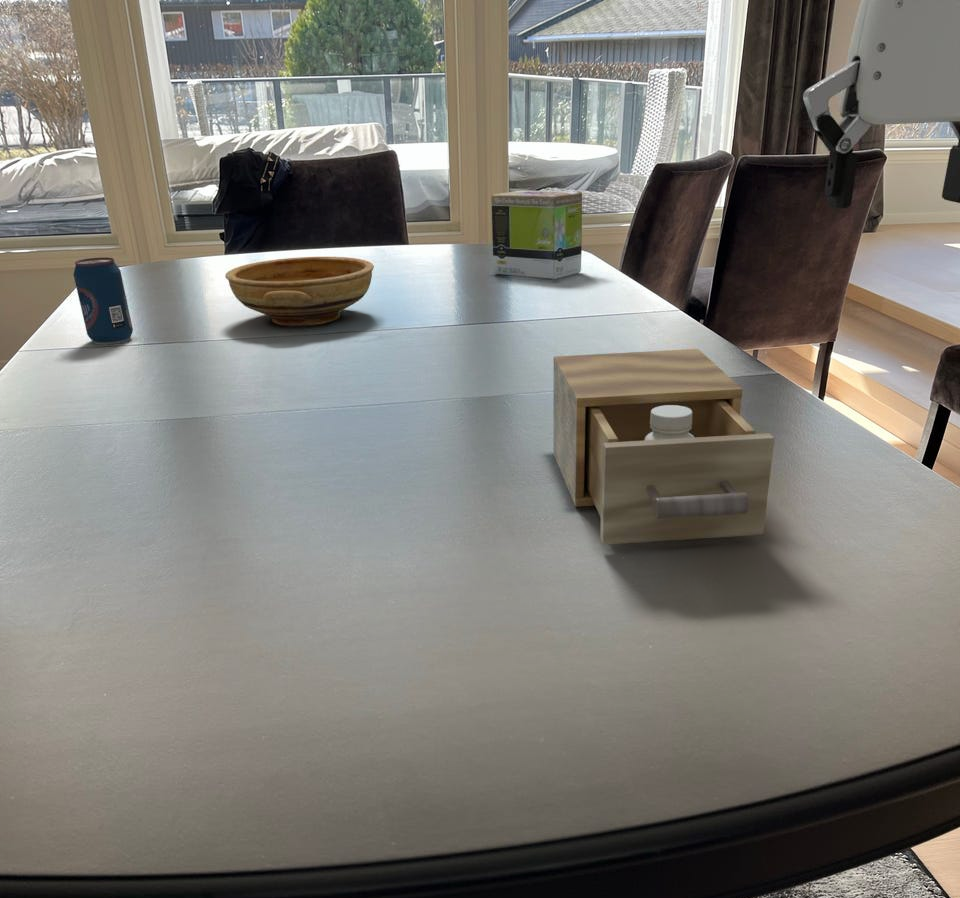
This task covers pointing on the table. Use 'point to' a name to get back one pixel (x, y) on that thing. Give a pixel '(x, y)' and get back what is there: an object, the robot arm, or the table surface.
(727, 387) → the cabinet
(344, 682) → the table surface
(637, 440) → the drawer
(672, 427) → the pill bottle
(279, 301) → the ceramic bowl
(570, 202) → the tea box
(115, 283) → the soda can
